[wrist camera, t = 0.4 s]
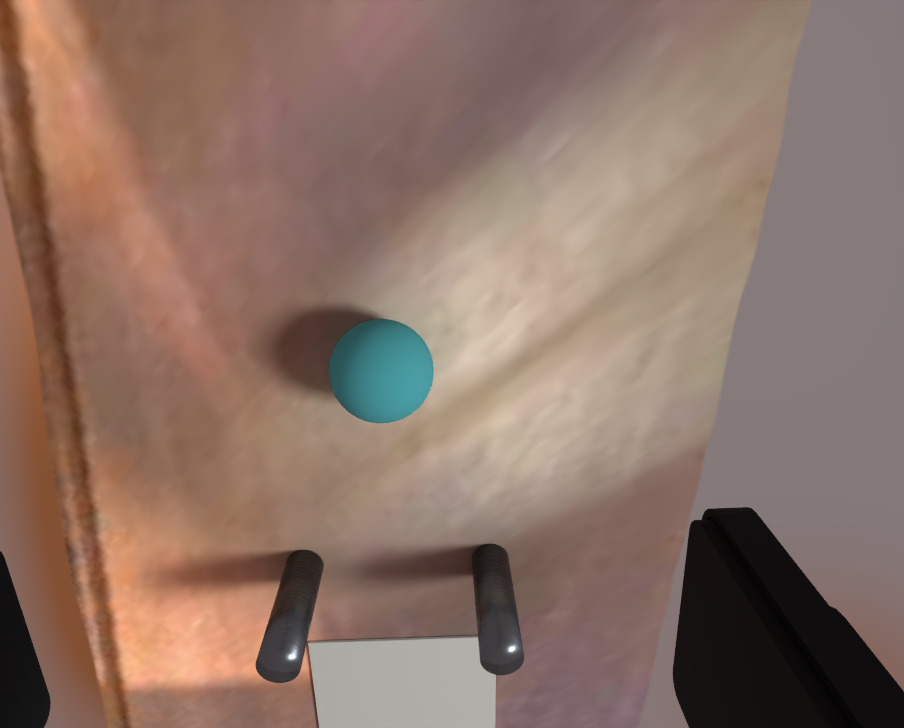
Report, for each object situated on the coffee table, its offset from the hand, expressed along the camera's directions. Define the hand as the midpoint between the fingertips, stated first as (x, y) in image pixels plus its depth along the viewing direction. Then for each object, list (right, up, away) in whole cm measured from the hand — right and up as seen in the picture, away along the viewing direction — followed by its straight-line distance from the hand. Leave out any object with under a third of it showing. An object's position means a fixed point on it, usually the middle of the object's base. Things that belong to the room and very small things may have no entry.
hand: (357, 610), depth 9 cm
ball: (-3, +3, +30) cm, 30 cm away
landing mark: (-2, -24, +44) cm, 50 cm away
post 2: (+4, -11, +39) cm, 40 cm away
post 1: (-9, -11, +38) cm, 41 cm away
